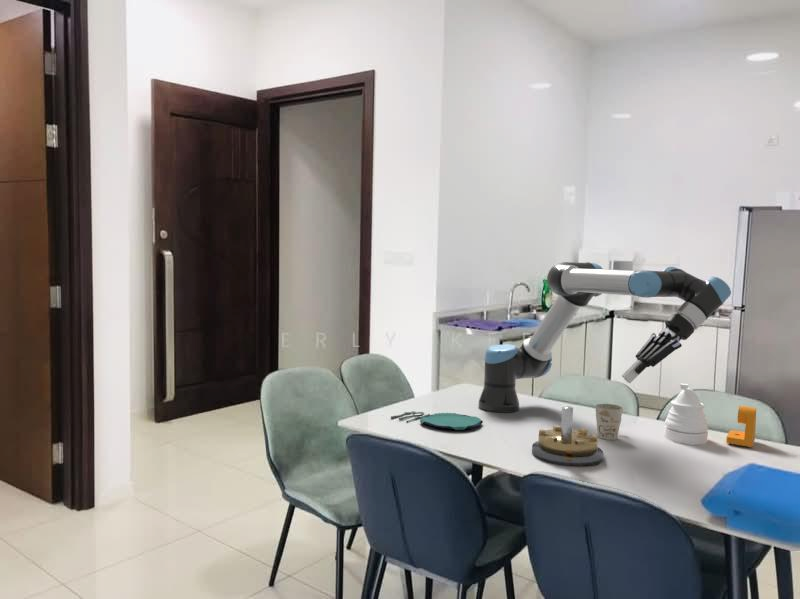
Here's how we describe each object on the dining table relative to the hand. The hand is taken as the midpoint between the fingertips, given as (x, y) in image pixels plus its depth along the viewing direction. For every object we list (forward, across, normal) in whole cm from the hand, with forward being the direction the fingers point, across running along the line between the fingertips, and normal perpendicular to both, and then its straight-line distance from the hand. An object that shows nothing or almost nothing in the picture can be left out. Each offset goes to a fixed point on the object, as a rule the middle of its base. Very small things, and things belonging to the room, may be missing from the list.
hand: (625, 379), depth 188 cm
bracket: (-18, +15, -51) cm, 56 cm away
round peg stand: (+25, +6, -5) cm, 26 cm away
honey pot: (-7, +21, -40) cm, 46 cm away
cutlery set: (+48, +45, +13) cm, 67 cm away
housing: (+26, +6, -7) cm, 28 cm away
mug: (+10, +25, -24) cm, 36 cm away
